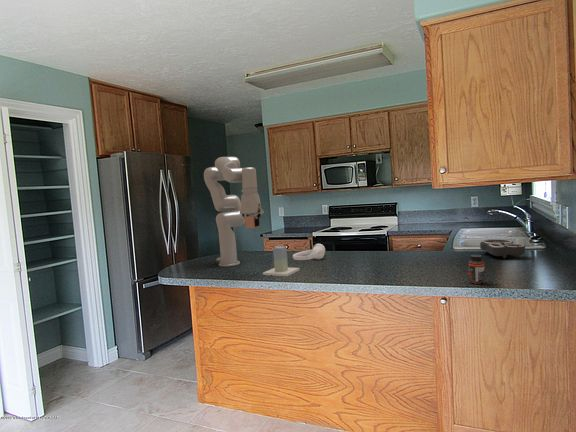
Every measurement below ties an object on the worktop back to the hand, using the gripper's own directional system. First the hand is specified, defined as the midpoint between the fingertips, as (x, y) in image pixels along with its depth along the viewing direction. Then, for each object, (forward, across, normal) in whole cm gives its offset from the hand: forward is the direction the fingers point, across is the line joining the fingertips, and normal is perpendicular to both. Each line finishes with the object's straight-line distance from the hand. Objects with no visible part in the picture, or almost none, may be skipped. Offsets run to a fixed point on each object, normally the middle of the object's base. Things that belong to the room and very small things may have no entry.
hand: (252, 226), depth 211 cm
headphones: (+26, +10, +43) cm, 51 cm away
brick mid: (+18, +13, +4) cm, 22 cm away
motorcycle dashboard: (+25, +112, +65) cm, 132 cm away
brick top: (+1, 0, 0) cm, 1 cm away
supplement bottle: (+24, +105, +5) cm, 108 cm away
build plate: (+25, +13, +4) cm, 28 cm away
